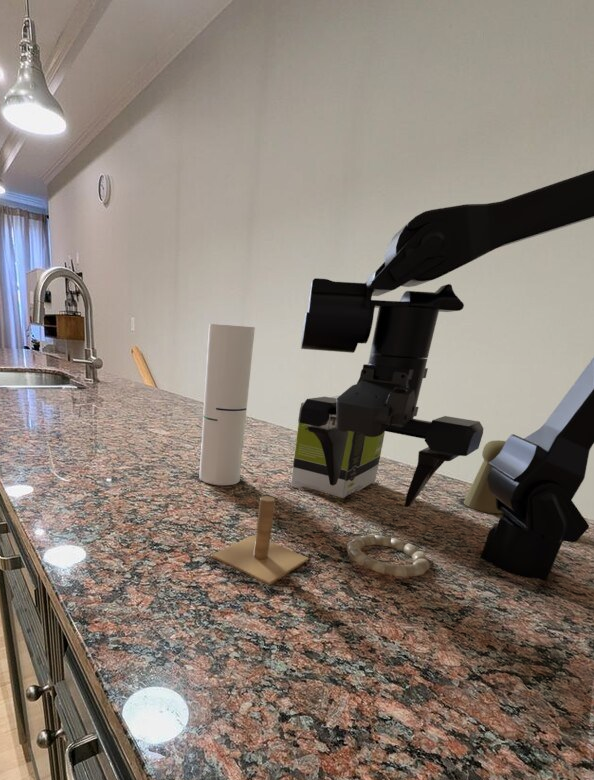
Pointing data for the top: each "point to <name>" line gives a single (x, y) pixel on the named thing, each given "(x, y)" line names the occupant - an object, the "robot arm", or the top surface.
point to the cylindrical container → (225, 402)
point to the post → (261, 550)
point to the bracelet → (413, 569)
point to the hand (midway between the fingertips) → (368, 494)
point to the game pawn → (484, 481)
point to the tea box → (355, 465)
